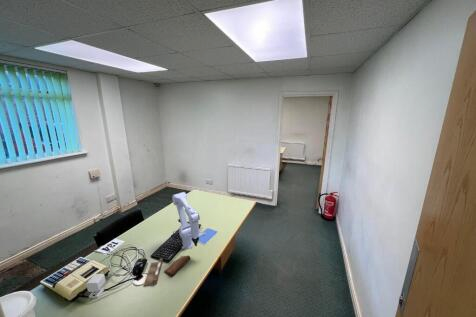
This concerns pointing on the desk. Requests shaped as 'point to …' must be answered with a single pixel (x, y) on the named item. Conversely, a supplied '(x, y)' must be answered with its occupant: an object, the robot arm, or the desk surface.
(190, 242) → the robot arm
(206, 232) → the tablet computer
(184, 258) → the sunglasses case
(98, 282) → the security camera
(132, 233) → the desk surface
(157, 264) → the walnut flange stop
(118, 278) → the desk surface
